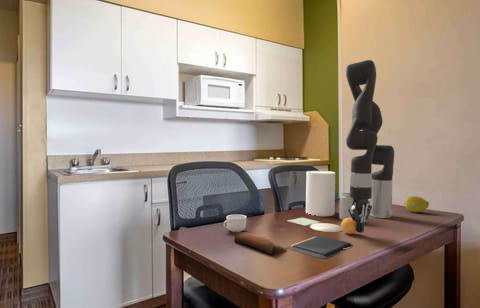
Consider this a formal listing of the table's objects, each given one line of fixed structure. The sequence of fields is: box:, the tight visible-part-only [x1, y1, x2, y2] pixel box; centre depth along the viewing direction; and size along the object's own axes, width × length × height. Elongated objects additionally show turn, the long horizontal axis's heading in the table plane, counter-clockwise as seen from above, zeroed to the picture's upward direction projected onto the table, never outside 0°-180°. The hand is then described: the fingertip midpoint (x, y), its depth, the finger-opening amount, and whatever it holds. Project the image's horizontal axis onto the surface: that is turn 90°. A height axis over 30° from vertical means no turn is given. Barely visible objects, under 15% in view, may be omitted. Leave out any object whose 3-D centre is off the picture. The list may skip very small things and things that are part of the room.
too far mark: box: [287, 217, 321, 227], centre depth 141 cm, size 10×10×1 cm
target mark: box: [309, 222, 343, 233], centre depth 131 cm, size 13×13×1 cm
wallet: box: [285, 235, 354, 260], centre depth 107 cm, size 20×2×15 cm
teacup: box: [222, 214, 247, 233], centre depth 125 cm, size 10×8×5 cm
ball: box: [340, 218, 357, 235], centre depth 123 cm, size 6×6×6 cm
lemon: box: [404, 195, 430, 214], centre depth 162 cm, size 11×8×8 cm
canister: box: [305, 170, 336, 217], centre depth 158 cm, size 14×14×20 cm
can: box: [338, 192, 353, 222], centre depth 144 cm, size 8×8×12 cm
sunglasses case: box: [233, 231, 289, 257], centre depth 107 cm, size 18×7×7 cm
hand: (360, 232), depth 120 cm, fingers closed
